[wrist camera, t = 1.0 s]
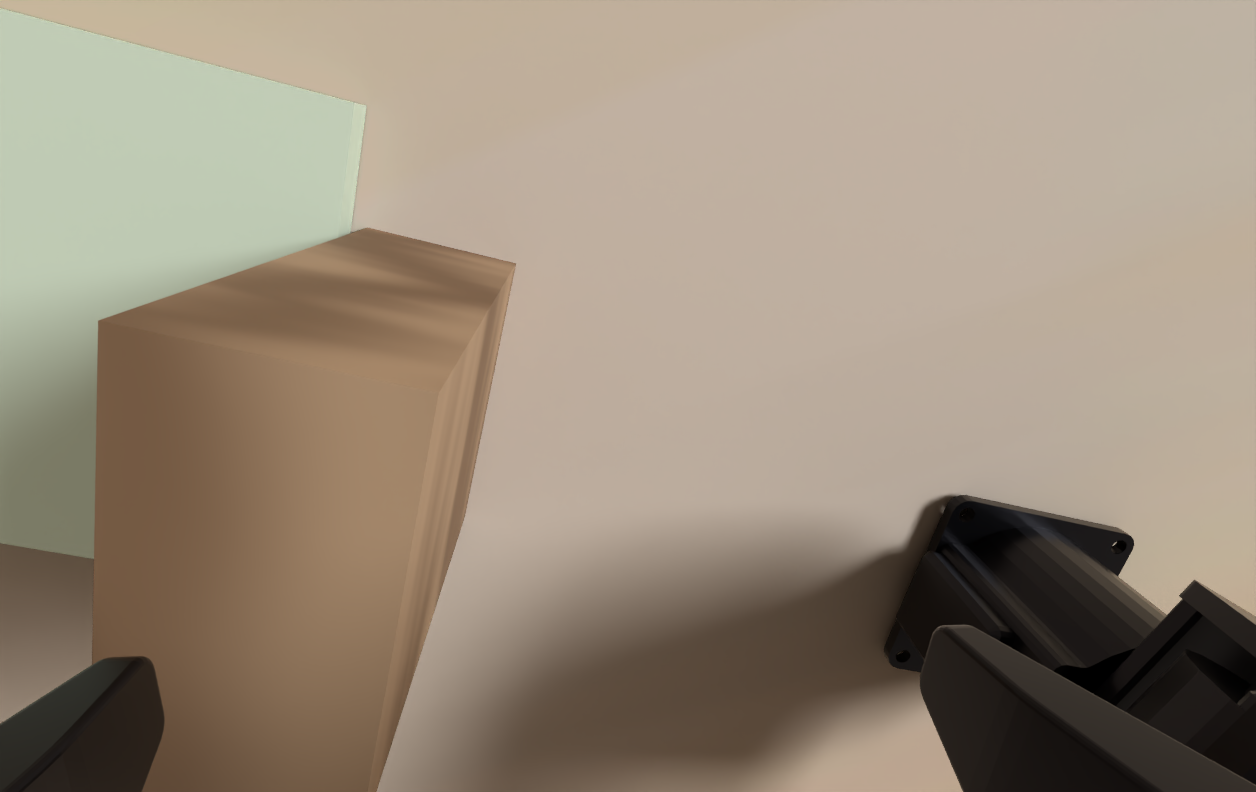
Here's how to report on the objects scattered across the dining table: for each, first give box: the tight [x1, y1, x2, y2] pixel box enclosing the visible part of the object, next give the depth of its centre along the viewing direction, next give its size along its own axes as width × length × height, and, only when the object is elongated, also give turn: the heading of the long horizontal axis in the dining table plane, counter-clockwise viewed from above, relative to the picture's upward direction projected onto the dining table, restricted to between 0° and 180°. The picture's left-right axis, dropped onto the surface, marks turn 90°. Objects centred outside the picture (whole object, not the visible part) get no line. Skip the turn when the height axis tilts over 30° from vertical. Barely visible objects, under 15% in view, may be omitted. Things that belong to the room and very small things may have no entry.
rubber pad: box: [0, 8, 367, 559], centre depth 18 cm, size 12×14×1 cm
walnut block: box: [92, 228, 516, 792], centre depth 15 cm, size 4×8×11 cm, turn 166°
